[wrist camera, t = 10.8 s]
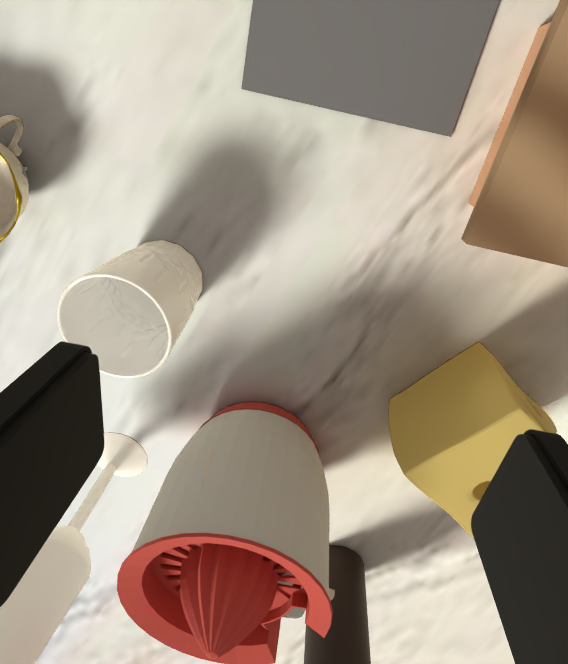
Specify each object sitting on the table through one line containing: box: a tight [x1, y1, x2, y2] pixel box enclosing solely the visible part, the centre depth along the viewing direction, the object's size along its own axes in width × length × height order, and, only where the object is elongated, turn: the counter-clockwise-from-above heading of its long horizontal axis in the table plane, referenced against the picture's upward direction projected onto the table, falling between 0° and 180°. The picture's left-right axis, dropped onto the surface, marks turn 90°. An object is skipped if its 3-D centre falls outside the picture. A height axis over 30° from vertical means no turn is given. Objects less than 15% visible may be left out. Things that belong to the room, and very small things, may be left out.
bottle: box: [304, 546, 371, 664], centre depth 44 cm, size 7×7×20 cm
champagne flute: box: [0, 433, 147, 664], centre depth 37 cm, size 7×7×24 cm
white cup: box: [57, 240, 203, 378], centre depth 33 cm, size 8×8×10 cm
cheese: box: [389, 343, 557, 539], centre depth 36 cm, size 10×11×10 cm
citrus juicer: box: [117, 402, 335, 664], centre depth 36 cm, size 16×17×20 cm
